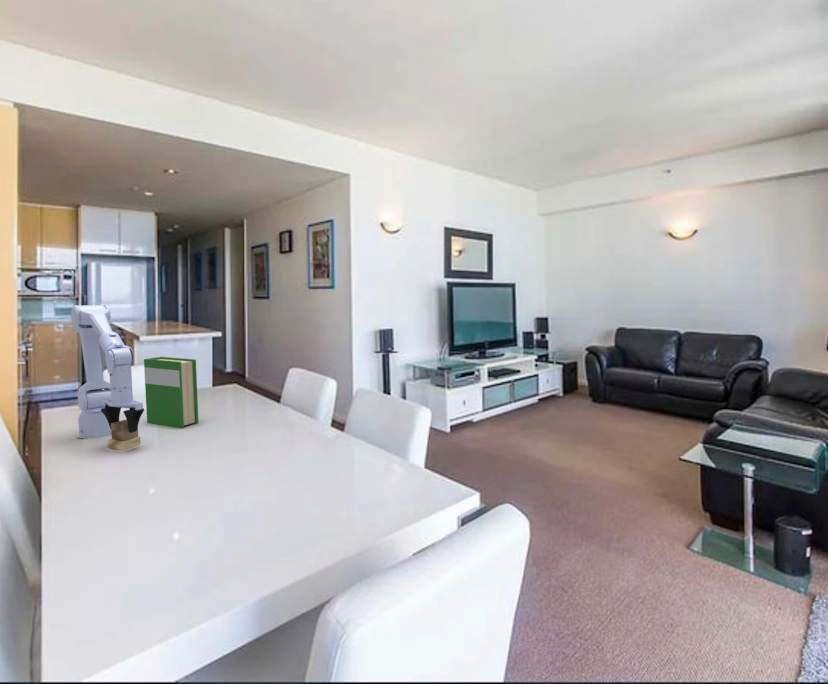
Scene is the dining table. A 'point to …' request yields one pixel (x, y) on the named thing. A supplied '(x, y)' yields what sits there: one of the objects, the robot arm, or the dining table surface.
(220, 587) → the dining table surface
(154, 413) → the hardback book
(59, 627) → the dining table surface
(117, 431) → the walnut cube
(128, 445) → the oak block
